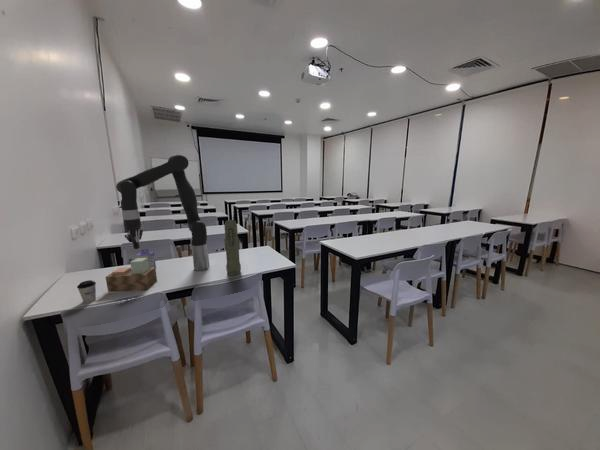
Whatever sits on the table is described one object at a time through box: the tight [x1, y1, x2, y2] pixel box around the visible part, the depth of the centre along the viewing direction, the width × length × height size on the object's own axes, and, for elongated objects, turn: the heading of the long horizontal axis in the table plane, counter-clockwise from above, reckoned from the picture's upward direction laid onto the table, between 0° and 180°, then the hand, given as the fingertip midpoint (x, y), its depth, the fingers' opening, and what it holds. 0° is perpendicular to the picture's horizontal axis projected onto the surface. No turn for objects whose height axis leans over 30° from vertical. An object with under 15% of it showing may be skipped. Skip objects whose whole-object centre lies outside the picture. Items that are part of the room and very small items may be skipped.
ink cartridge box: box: [135, 248, 157, 269], centre depth 151 cm, size 10×6×14 cm, turn 116°
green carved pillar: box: [223, 219, 242, 277], centre depth 144 cm, size 9×12×35 cm
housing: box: [105, 267, 158, 293], centre depth 129 cm, size 20×11×9 cm, turn 96°
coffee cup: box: [76, 279, 97, 304], centre depth 114 cm, size 7×7×10 cm
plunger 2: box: [130, 257, 150, 274], centre depth 128 cm, size 6×6×10 cm
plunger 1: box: [111, 266, 131, 275], centre depth 128 cm, size 6×6×10 cm
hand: (136, 248), depth 126 cm, fingers closed
